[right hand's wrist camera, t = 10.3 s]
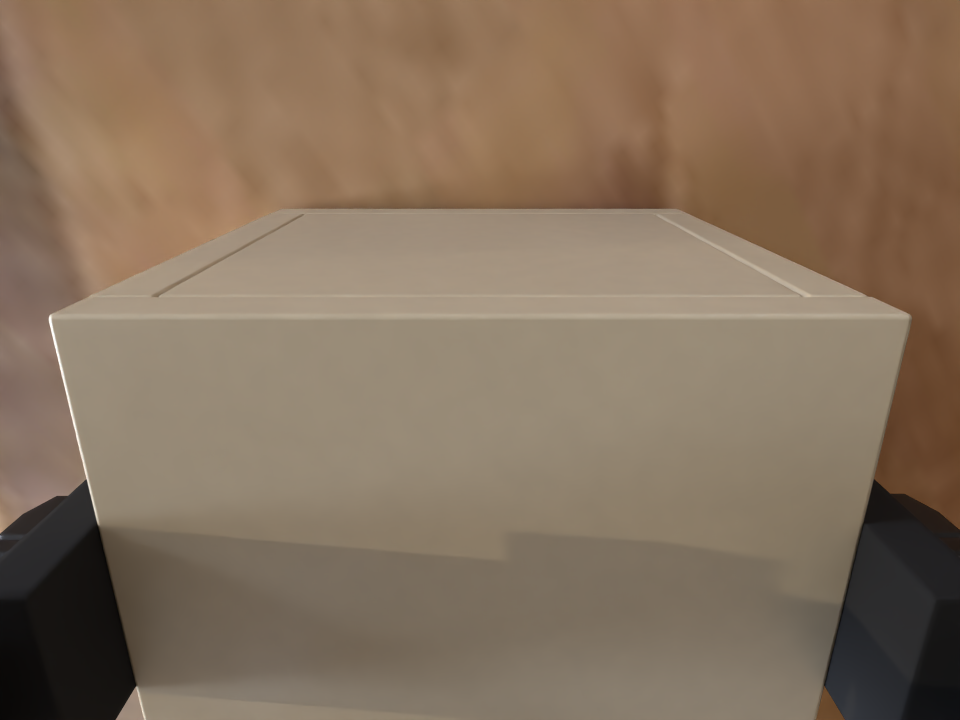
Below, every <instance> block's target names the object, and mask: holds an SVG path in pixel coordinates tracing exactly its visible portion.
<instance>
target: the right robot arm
mask: <svg viewBox="0 0 960 720" xmlns="http://www.w3.org/2000/svg"><path fill="white" fill-rule="evenodd" d="M824 686H825V687H826V689H827V691H828V692H829V694H830V696H831V697H832V699H833V701H834V702H835V704H836V705H837V707H838V709H839V710H840V712H841V714H842V715H843V717H844V719H845V720H960V530H959V529H958V528H957V527H955V526H954V525H953V524H952V523H951V522H950V521H948V520H947V519H946V518H945V517H944V516H943V515H941V514H940V513H939V512H938V511H936V510H934V509H932V508H930V507H928V506H926V505H924V504H922V503H921V502H919V501H917V500H915V499H913V498H911V497H909V496H907V495H906V494H890V493H889V492H888V491H886V490H885V489H884V488H883V487H882V486H881V485H880V484H879V483H878V482H877V481H876V480H873V484H872V488H871V493H870V497H869V501H868V505H867V509H866V513H865V518H864V522H863V526H862V530H861V534H860V538H859V543H858V547H857V551H856V555H855V559H854V563H853V568H852V572H851V576H850V580H849V584H848V588H847V593H846V597H845V601H844V605H843V609H842V613H841V617H840V622H839V626H838V630H837V634H836V638H835V642H834V647H833V651H832V655H831V659H830V663H829V667H828V672H827V676H826V680H825V684H824ZM135 687H136V683H135V679H134V675H133V670H132V666H131V662H130V658H129V654H128V650H127V645H126V641H125V637H124V633H123V629H122V624H121V620H120V616H119V612H118V608H117V603H116V599H115V595H114V591H113V587H112V583H111V578H110V574H109V570H108V566H107V562H106V557H105V553H104V549H103V545H102V541H101V537H100V532H99V528H98V524H97V520H96V516H95V511H94V507H93V503H92V499H91V495H90V490H89V486H88V482H87V479H86V480H85V481H84V482H83V483H82V484H81V485H80V486H79V487H78V488H76V489H75V490H74V491H73V492H72V493H71V494H70V495H69V496H56V497H54V498H52V499H50V500H49V501H47V502H45V503H43V504H41V505H39V506H37V507H35V508H34V509H32V510H30V511H28V512H26V513H24V514H23V515H21V516H20V517H19V518H18V519H17V520H16V521H14V522H13V523H12V524H11V525H10V526H9V527H8V528H6V529H5V530H4V531H3V532H2V533H1V534H0V720H116V718H117V716H118V715H119V713H120V711H121V710H122V708H123V707H124V705H125V703H126V702H127V700H128V698H129V697H130V695H131V693H132V692H133V690H134V688H135Z"/></svg>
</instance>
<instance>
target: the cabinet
mask: <svg viewBox="0 0 960 720" xmlns="http://www.w3.org/2000/svg"><path fill="white" fill-rule="evenodd" d="M911 322H912V317H911V315H910V314H908V313H906V312H904V311H901V310H899V309H897V308H895V307H893V306H890V305H888V304H886V303H884V302H882V301H879V300H877V299H875V298H873V297H868V296H867V295H865V294H863V293H860V292H858V291H856V290H854V289H852V288H849V287H847V286H845V285H843V284H841V283H839V282H836V281H834V280H832V279H830V278H828V277H825V276H823V275H821V274H819V273H817V272H814V271H812V270H810V269H808V268H806V267H804V266H801V265H799V264H797V263H795V262H793V261H790V260H788V259H786V258H784V257H782V256H779V255H777V254H775V253H773V252H771V251H768V250H766V249H764V248H762V247H760V246H758V245H755V244H753V243H751V242H749V241H747V240H744V239H742V238H740V237H738V236H736V235H733V234H731V233H729V232H727V231H725V230H722V229H720V228H718V227H716V226H714V225H712V224H709V223H707V222H705V221H703V220H701V219H698V218H696V217H694V216H692V215H690V214H688V213H685V212H683V211H681V210H679V209H280V210H278V211H276V212H274V213H270V214H268V215H266V216H264V217H261V218H259V219H257V220H255V221H253V222H250V223H248V224H246V225H244V226H242V227H240V228H237V229H235V230H233V231H231V232H229V233H226V234H224V235H222V236H220V237H218V238H215V239H213V240H211V241H209V242H207V243H205V244H202V245H200V246H198V247H196V248H194V249H191V250H189V251H187V252H185V253H183V254H181V255H178V256H176V257H174V258H172V259H170V260H167V261H165V262H163V263H161V264H159V265H156V266H154V267H152V268H150V269H148V270H146V271H143V272H141V273H139V274H137V275H135V276H132V277H130V278H128V279H126V280H124V281H121V282H119V283H117V284H115V285H113V286H111V287H108V288H106V289H104V290H102V291H100V292H97V293H95V294H93V295H91V296H90V297H88V298H86V299H84V300H81V301H79V302H77V303H75V304H73V305H70V306H68V307H66V308H64V309H62V310H60V311H57V312H55V313H53V314H51V315H50V316H49V323H50V327H51V331H52V336H53V340H54V344H55V348H56V352H57V356H58V361H59V365H60V369H61V373H62V377H63V382H64V386H65V390H66V394H67V398H68V403H69V407H70V411H71V415H72V419H73V423H74V428H75V432H76V436H77V440H78V444H79V449H80V453H81V457H82V461H83V465H84V470H85V474H86V478H87V482H88V486H89V490H90V495H91V499H92V503H93V507H94V511H95V516H96V520H97V524H98V528H99V532H100V537H101V541H102V545H103V549H104V553H105V557H106V562H107V566H108V570H109V574H110V578H111V583H112V587H113V591H114V595H115V599H116V603H117V608H118V612H119V616H120V620H121V624H122V629H123V633H124V637H125V641H126V645H127V650H128V654H129V658H130V662H131V666H132V670H133V675H134V679H135V683H136V687H137V691H138V696H139V700H140V704H141V708H142V712H143V717H144V720H816V717H817V713H818V709H819V705H820V701H821V697H822V692H823V688H824V684H825V680H826V676H827V672H828V667H829V663H830V659H831V655H832V651H833V647H834V642H835V638H836V634H837V630H838V626H839V622H840V617H841V613H842V609H843V605H844V601H845V597H846V593H847V588H848V584H849V580H850V576H851V572H852V568H853V563H854V559H855V555H856V551H857V547H858V543H859V538H860V534H861V530H862V526H863V522H864V518H865V513H866V509H867V505H868V501H869V497H870V493H871V488H872V484H873V480H874V476H875V472H876V468H877V463H878V459H879V455H880V451H881V447H882V443H883V438H884V434H885V430H886V426H887V422H888V418H889V413H890V409H891V405H892V401H893V397H894V393H895V388H896V384H897V380H898V376H899V372H900V368H901V363H902V359H903V355H904V351H905V347H906V343H907V338H908V334H909V330H910V326H911Z"/></svg>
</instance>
